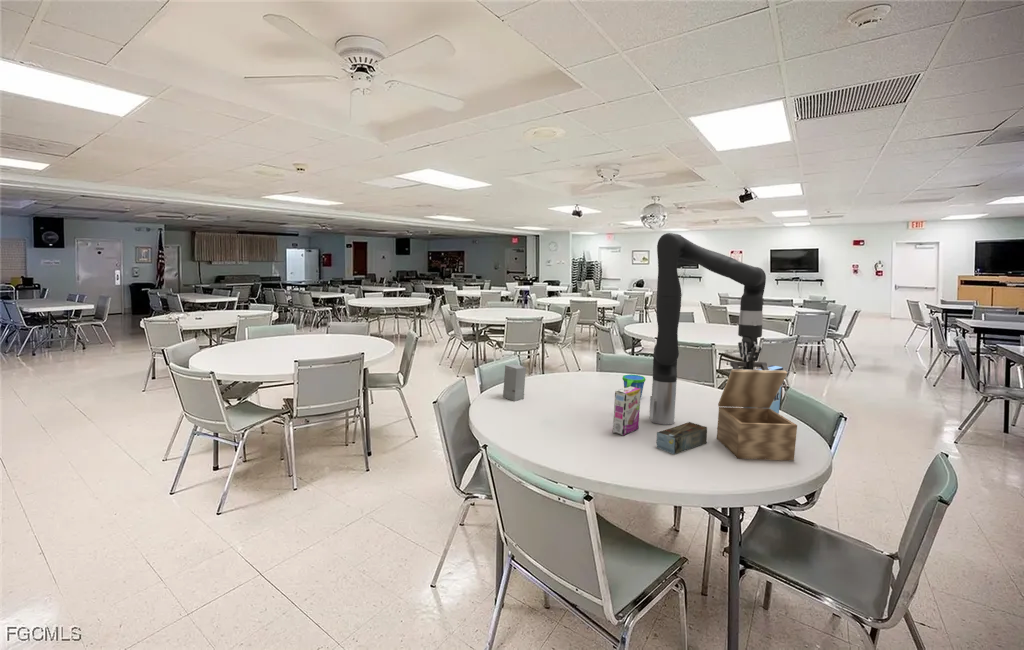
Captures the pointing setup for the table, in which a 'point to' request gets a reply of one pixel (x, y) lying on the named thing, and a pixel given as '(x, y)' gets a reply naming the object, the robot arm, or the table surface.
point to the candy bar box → (626, 410)
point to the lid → (751, 386)
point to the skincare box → (514, 382)
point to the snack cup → (634, 381)
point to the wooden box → (756, 433)
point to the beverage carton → (681, 437)
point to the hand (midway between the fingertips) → (748, 371)
